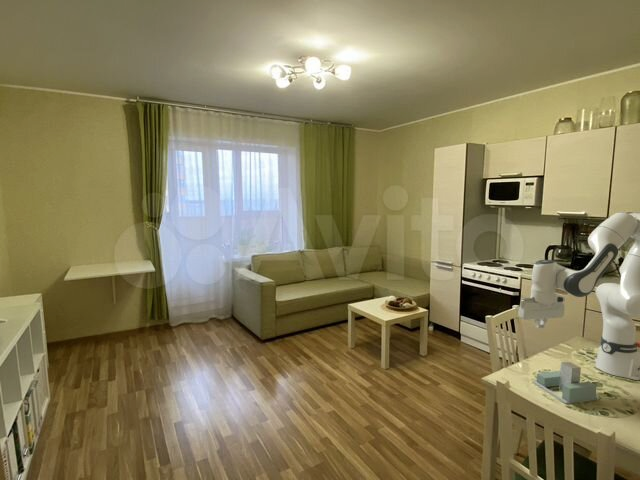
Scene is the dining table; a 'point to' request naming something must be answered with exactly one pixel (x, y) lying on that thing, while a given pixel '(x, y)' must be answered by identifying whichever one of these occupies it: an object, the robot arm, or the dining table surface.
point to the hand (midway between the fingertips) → (539, 327)
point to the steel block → (569, 374)
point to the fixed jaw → (574, 392)
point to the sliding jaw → (549, 378)
